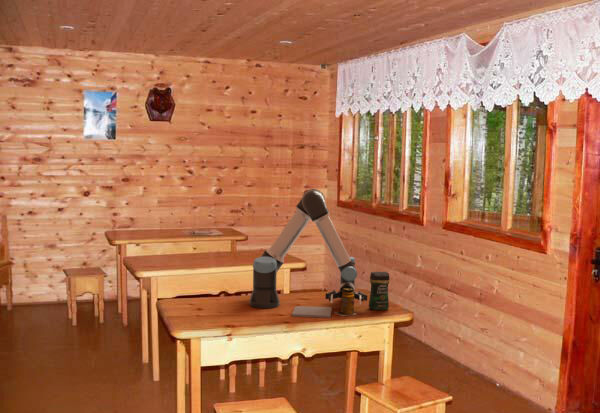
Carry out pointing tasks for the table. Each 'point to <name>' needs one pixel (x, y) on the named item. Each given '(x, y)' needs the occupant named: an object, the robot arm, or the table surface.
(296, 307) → the plain gray board
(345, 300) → the condiment
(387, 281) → the coffee jar
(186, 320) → the table surface
